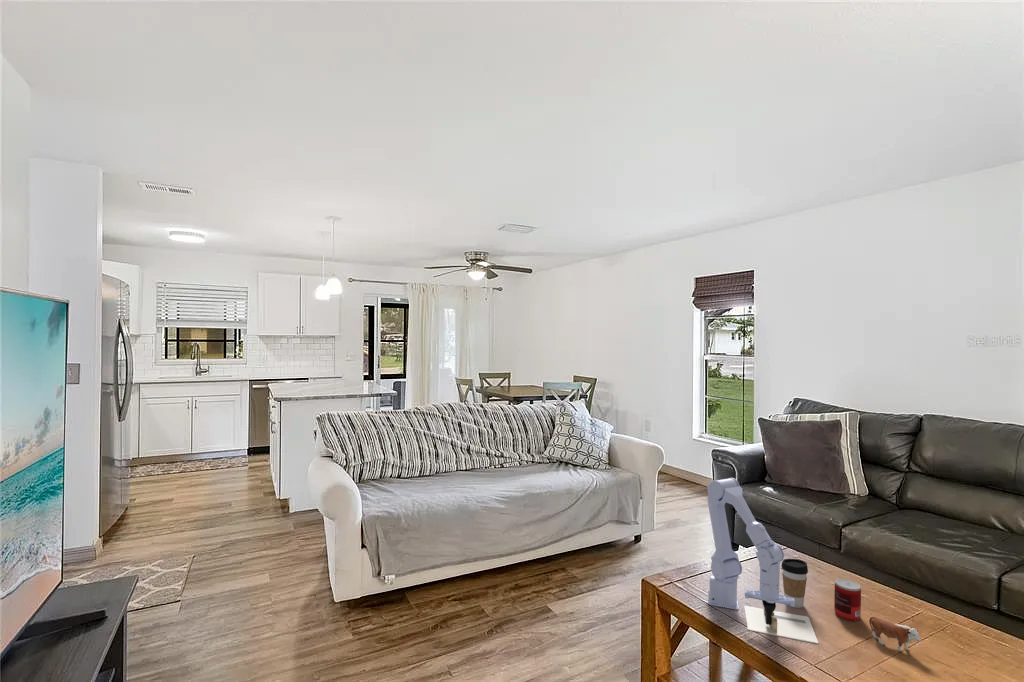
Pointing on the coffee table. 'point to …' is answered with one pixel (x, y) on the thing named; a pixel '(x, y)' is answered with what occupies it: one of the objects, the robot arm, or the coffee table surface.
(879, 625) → the bull figurine
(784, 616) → the card
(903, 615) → the coffee table surface
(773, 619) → the fence panel
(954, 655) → the coffee table surface
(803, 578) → the coffee cup
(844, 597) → the canned food
